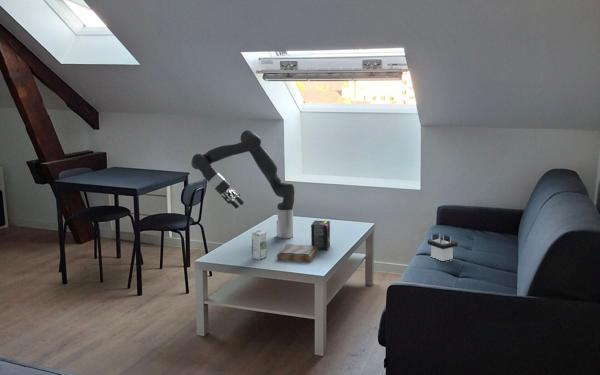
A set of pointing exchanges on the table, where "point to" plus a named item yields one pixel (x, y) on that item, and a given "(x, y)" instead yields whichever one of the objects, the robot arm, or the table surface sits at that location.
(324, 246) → the tampon box
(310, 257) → the brown wooden flat block
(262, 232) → the syrup box
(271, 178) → the robot arm
